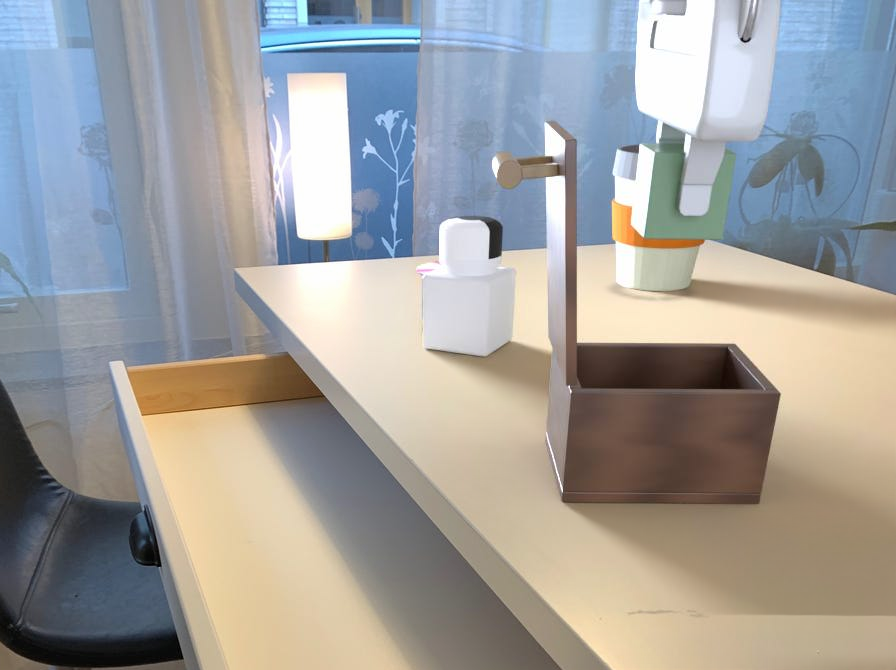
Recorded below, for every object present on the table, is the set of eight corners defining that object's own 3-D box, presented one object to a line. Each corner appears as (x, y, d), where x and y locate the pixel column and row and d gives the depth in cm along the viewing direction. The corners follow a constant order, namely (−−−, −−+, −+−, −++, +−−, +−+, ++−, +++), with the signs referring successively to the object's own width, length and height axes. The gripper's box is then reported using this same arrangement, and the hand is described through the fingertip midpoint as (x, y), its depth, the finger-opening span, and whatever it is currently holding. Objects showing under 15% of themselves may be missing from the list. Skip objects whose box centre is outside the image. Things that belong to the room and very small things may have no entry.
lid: (555, 120, 68) (488, 126, 68) (576, 139, 58) (498, 146, 58) (557, 336, 76) (497, 341, 76) (577, 385, 66) (507, 390, 66)
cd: (472, 257, 138) (472, 256, 138) (519, 273, 130) (519, 272, 130) (400, 266, 134) (400, 265, 133) (444, 283, 125) (444, 282, 125)
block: (704, 225, 69) (717, 143, 66) (723, 240, 64) (736, 153, 62) (630, 224, 69) (639, 142, 66) (643, 239, 64) (654, 152, 62)
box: (718, 443, 80) (735, 343, 76) (759, 504, 70) (781, 393, 66) (545, 441, 80) (552, 342, 76) (561, 502, 70) (571, 391, 66)
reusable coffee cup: (684, 299, 119) (704, 159, 111) (585, 286, 125) (598, 151, 117) (718, 279, 128) (738, 148, 120) (624, 267, 134) (638, 141, 126)
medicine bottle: (450, 331, 107) (452, 209, 101) (513, 340, 104) (520, 215, 98) (420, 348, 102) (421, 220, 95) (486, 358, 99) (491, 227, 93)
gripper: (830, -64, 49) (774, 236, 57) (726, -45, 67) (694, 183, 74) (700, -66, 49) (662, 235, 57) (630, -46, 67) (607, 182, 74)
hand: (679, 205), depth 66 cm, fingers closed on block, 5 cm apart
